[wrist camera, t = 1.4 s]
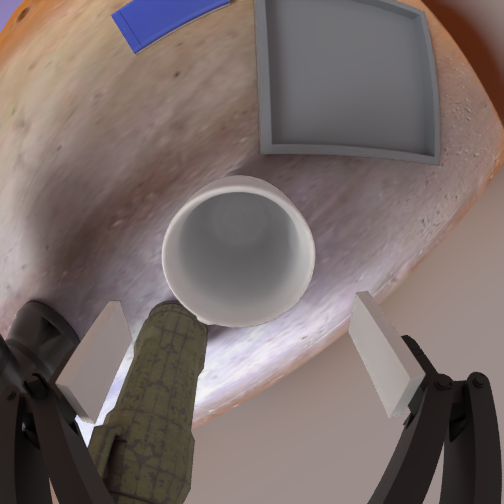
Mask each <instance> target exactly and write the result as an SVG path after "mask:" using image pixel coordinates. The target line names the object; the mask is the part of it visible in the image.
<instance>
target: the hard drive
mask: <svg viewBox="0 0 504 504" xmlns="http://www.w3.org/2000/svg"><path fill="white" fill-rule="evenodd" d="M228 5H231V2H230V0H133V1H131V2H130V3H128V4H127V5H125V6H124V7H122V8H121V9H119V10H118V11H116V12H115V13H113V14H112V15H111V16H112V18H113V20H114V21H115V23H116V24H117V26H118V28H119V29H120V31H121V32H122V34H123V36H124V37H125V39H126V41H127V42H128V44H129V46H130V47H131V49H132V50H133V52H134V53H135V54H136V55H138V54H139V53H141V52H142V51H144V50H145V49H147V48H148V47H150V46H151V45H153V44H155V43H156V42H158V41H159V40H161V39H163V38H164V37H166V36H168V35H169V34H171V33H173V32H175V31H177V30H178V29H180V28H182V27H184V26H186V25H188V24H190V23H191V22H193V21H195V20H197V19H199V18H201V17H204V16H206V15H208V14H210V13H212V12H214V11H217V10H219V9H221V8H224V7H226V6H228Z"/></svg>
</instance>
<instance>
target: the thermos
mask: <svg viewBox="0 0 504 504" xmlns="http://www.w3.org/2000/svg"><path fill="white" fill-rule="evenodd" d="M207 331H208V327H207V324H204V323H202V322H200V321H199V320H198V319H197V316H196V315H194V314H193V313H192V312H190V311H189V310H188V309H187V308H185V307H184V306H183V305H182V304H181V303H180V302H178V301H166V302H162V303H160V304H158V305H156V306H155V307H154V308H153V309H152V310H151V312H150V314H149V316H148V318H147V319H146V320H145V322H144V324H143V326H142V328H141V330H140V333H139V335H138V337H137V339H136V342H135V345H134V358H133V361H132V363H131V366H130V368H129V371H128V373H127V376H126V378H125V381H124V383H123V386H122V389H121V391H120V394H119V397H118V399H117V402H116V405H115V407H114V408H113V409H112V410H111V411H110V412H109V413H107V415H106V417H105V420H104V423H103V425H99V426H95V427H94V429H93V432H92V435H91V439H90V442H89V445H88V448H87V449H88V451H89V454H90V456H91V458H92V460H93V462H94V465H95V467H96V469H97V471H98V473H99V475H100V477H101V479H102V481H103V483H104V485H105V486H106V488H107V490H108V492H109V494H110V495H111V497H112V499H113V501H114V502H115V504H183V503H184V501H185V499H186V497H187V495H188V493H189V491H190V489H191V476H192V464H193V454H194V442H195V440H194V438H193V435H192V432H191V427H192V419H193V411H194V403H195V395H196V388H197V380H198V376H199V375H200V373H201V372H202V370H203V369H204V362H205V354H206V347H207Z"/></svg>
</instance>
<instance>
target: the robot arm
mask: <svg viewBox="0 0 504 504" xmlns="http://www.w3.org/2000/svg"><path fill="white" fill-rule="evenodd" d="M348 332H349V334H350V335H351V338H352V340H353V342H354V344H355V346H356V348H357V350H358V352H359V354H360V356H361V358H362V360H363V362H364V364H365V367H366V369H367V371H368V373H369V375H370V377H371V379H372V381H373V383H374V386H375V388H376V390H377V392H378V395H379V397H380V399H381V401H382V403H383V406H384V408H385V410H386V412H387V415H388V417H389V418H391V417H395V416H398V415H401V414H403V413H404V412H405V410H406V409H407V407H409V409H410V411H411V413H410V414H409V416H408V417H407V419H406V420H405V422H404V424H403V425H405V427H404V429H403V432H402V434H401V437H400V440H399V442H398V444H397V447H396V449H395V451H394V454H393V456H392V458H391V460H390V462H389V464H388V467H387V468H386V470H385V472H384V474H383V476H382V479H381V481H380V482H379V484H378V486H377V488H376V490H375V491H374V493H373V495H372V497H371V499H370V500H369V502H368V503H367V504H422V503H423V501H424V499H425V496H426V494H427V491H428V489H429V486H430V484H431V481H432V478H433V475H434V472H435V470H436V467H437V463H438V460H439V457H440V454H441V450H442V446H443V443H444V465H443V477H442V487H441V495H440V502H439V504H501V491H502V469H501V468H502V467H501V449H500V440H499V439H500V438H499V430H498V423H497V416H496V410H495V405H494V400H493V395H492V390H491V386H490V382H489V380H488V378H487V377H486V376H485V375H484V374H482V373H480V372H473V373H471V374H470V375H469V377H468V378H467V380H465V381H453V380H452V379H451V378H450V377H449V376H447V375H445V374H438V372H437V371H436V369H435V368H434V367H433V365H432V364H431V363H430V361H429V359H428V358H427V356H426V355H425V354H424V352H423V351H422V349H420V347H419V345H418V344H417V343H416V341H415V340H414V339H412V338H411V337H410V336H408V335H404V336H400V335H399V334H398V332H397V331H396V329H395V328H394V326H393V325H392V324H391V322H390V321H389V319H388V318H387V317H386V315H385V314H384V313H383V311H382V310H381V309H380V307H379V306H378V304H377V303H376V302H375V300H374V299H373V298H372V296H371V295H370V294H369V292H368V291H364V292H356V293H355V298H354V304H353V310H352V315H351V320H350V325H349V330H348ZM131 341H132V337H131V334H130V331H129V328H128V325H127V322H126V319H125V315H124V312H123V309H122V306H121V302H120V301H109V302H108V303H107V305H106V306H105V307H104V309H103V310H102V312H101V313H100V314H99V316H98V317H97V319H96V320H95V322H94V323H93V324H92V326H91V327H90V329H89V330H88V332H87V333H86V335H85V336H84V338H83V339H82V341H81V342H80V341H79V339H78V337H77V335H76V333H75V332H74V330H73V329H72V328H71V326H70V325H69V324H68V323H67V322H66V321H65V320H64V319H63V318H62V317H61V316H60V315H59V314H58V313H57V312H55V311H54V310H53V309H51V308H50V307H48V306H46V305H44V304H41V303H38V302H28V303H26V304H25V305H24V306H23V307H22V308H21V309H20V310H19V311H18V313H17V314H16V316H15V320H14V322H13V324H12V327H11V329H10V332H9V335H8V337H7V339H6V340H5V341H4V339H3V337H2V336H1V334H0V504H53V503H52V497H51V490H50V483H49V478H50V481H51V483H52V486H53V489H54V491H55V494H56V497H57V499H58V502H59V504H115V502H114V501H113V499H112V497H111V495H110V494H109V492H108V490H107V488H106V486H105V485H104V483H103V481H102V479H101V477H100V475H99V473H98V471H97V469H96V467H95V465H94V462H93V460H92V458H91V456H90V454H89V451H88V449H87V447H86V444H85V442H84V439H83V437H82V434H81V432H80V429H79V426H78V424H77V422H76V420H75V417H76V415H78V416H79V417H80V419H81V420H82V421H84V422H87V423H91V424H95V423H96V421H97V418H98V416H99V413H100V411H101V408H102V406H103V403H104V401H105V399H106V396H107V394H108V392H109V389H110V387H111V385H112V382H113V380H114V378H115V375H116V373H117V371H118V369H119V367H120V364H121V362H122V360H123V358H124V356H125V353H126V351H127V349H128V347H129V345H130V343H131Z"/></svg>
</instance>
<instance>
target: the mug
mask: <svg viewBox="0 0 504 504" xmlns="http://www.w3.org/2000/svg"><path fill="white" fill-rule="evenodd" d="M315 257H316V254H315V243H314V239H313V235H312V232H311V230H310V227H309V226H308V224H307V222H306V220H305V219H304V217H303V216H302V214H301V213H300V212H299V210H298V208H297V207H296V206H295V205H294V204H293V202H292V201H291V200H290V199H289V198H288V197H287V196H286V195H285V194H283V193H282V191H280V190H279V189H278V188H276V187H275V186H273V185H272V184H270V183H268V182H266V181H264V180H262V179H259V178H254V177H252V176H243V175H234V176H228V177H223V178H221V179H217V180H215V181H212V182H211V183H209V184H206V185H205V186H204V187H202V188H200V189H199V190H198V191H197V192H196V193H194V194H193V195H192V196H191V197H190V199H188V200H187V202H185V203H184V205H183V206H182V208H181V209H180V210H179V211H178V212H177V213H176V215H175V216H174V218H173V219H172V221H171V222H170V224H169V226H168V228H167V231H166V234H165V237H164V240H163V246H162V266H163V271H164V275H165V278H166V280H167V283H168V285H169V287H170V289H171V291H172V292H173V294H174V295H175V296H176V298H177V299H178V300H179V302H180V303H181V304H182V305H183V306H184V307H185V308H187V309H188V310H189V311H190V312H192V313H193V314H194V315H196V316H197V319H198V320H199V321H200V322H202V323H204V324H207V325H213V324H216V325H220V326H226V327H234V328H238V327H251V326H256V325H260V324H264V323H267V322H269V321H271V320H274V319H276V318H278V317H279V316H281V315H282V314H284V313H285V312H287V311H288V310H289V309H290V308H292V307H293V306H294V305H295V304H296V303H297V302H298V300H299V299H300V298H301V297H302V295H303V294H304V293H305V291H306V289H307V287H308V285H309V283H310V281H311V278H312V275H313V271H314V267H315Z"/></svg>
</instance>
